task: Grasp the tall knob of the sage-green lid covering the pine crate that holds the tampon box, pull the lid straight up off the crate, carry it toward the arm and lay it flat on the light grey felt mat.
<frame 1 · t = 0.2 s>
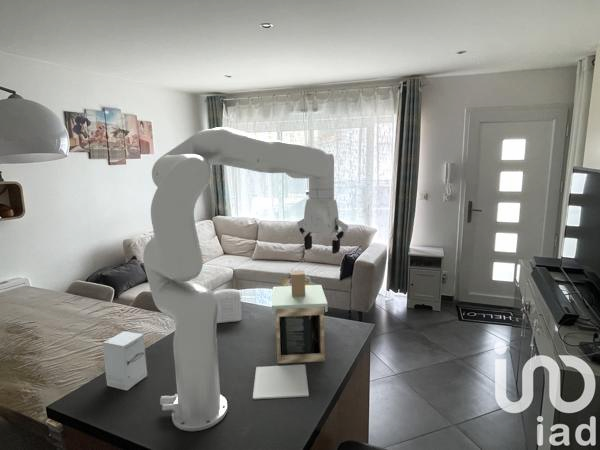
hand: (321, 250, 110), 31 cm above the kitchen island, tool pointing down, fingers open, 9 cm apart
milk carton: (300, 325, 130), on the kitchen island
tampon box: (299, 349, 114), resting in crate
supplement box: (127, 381, 98), on the kitchen island
crate: (299, 348, 113), on the kitchen island
mat: (280, 381, 96), on the kitchen island
lid: (298, 297, 111), point 17 cm above the kitchen island, touching crate
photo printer: (228, 321, 136), on the kitchen island
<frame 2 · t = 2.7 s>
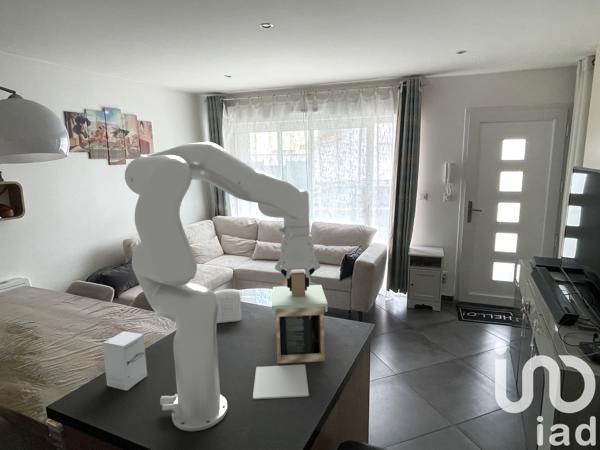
hand: (298, 288, 110), 20 cm above the kitchen island, tool pointing down, fingers closed on lid, 4 cm apart
lid: (298, 297, 111), point 17 cm above the kitchen island, touching gripper
everything else where it was.
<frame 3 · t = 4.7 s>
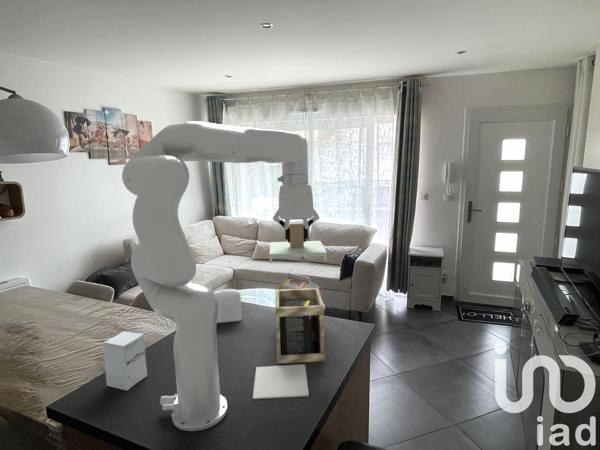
hand: (296, 241, 108), 35 cm above the kitchen island, tool pointing down, fingers closed on lid, 4 cm apart
lid: (296, 250, 108), point 32 cm above the kitchen island, touching gripper
everything else where it was.
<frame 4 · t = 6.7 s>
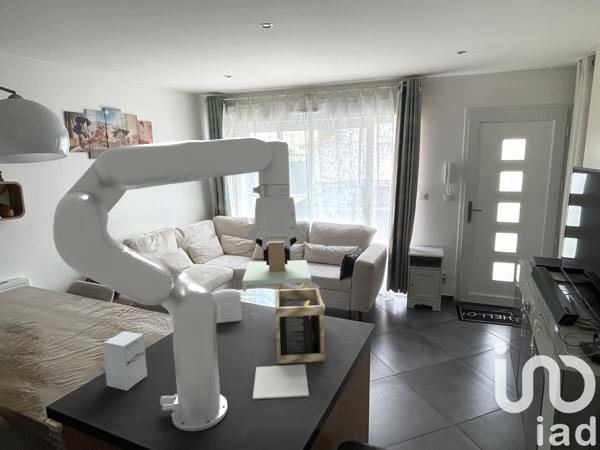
hand: (277, 262, 91), 33 cm above the kitchen island, tool pointing down, fingers closed on lid, 4 cm apart
lid: (277, 273, 92), point 30 cm above the kitchen island, touching gripper
everything else where it was.
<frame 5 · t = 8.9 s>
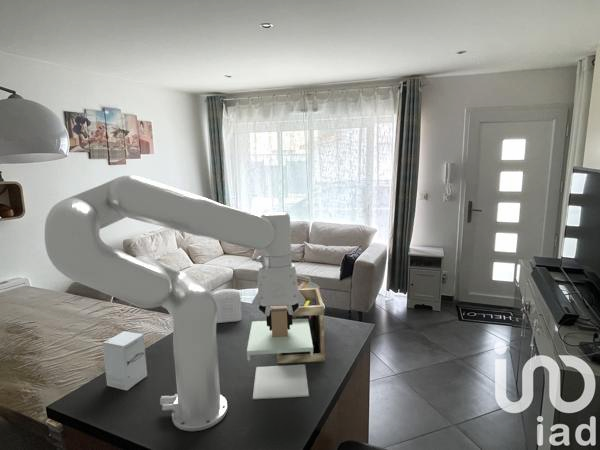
hand: (279, 327, 94), 15 cm above the kitchen island, tool pointing down, fingers closed on lid, 4 cm apart
lid: (280, 336, 95), point 13 cm above the kitchen island, touching gripper
everything else where it was.
when the fingers open (6 cm above the kitchen island, at t = 11.0 s): lid drops 2 cm, point 1 cm above the kitchen island.
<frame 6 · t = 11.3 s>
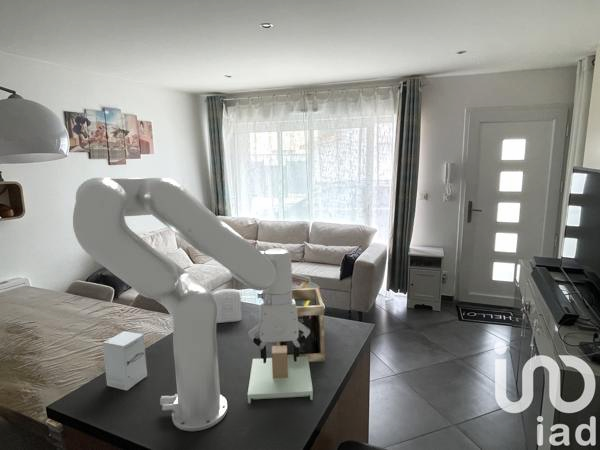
hand: (280, 359, 95), 6 cm above the kitchen island, tool pointing down, fingers open, 7 cm apart
lid: (280, 377, 96), point 1 cm above the kitchen island
everything else where it was.
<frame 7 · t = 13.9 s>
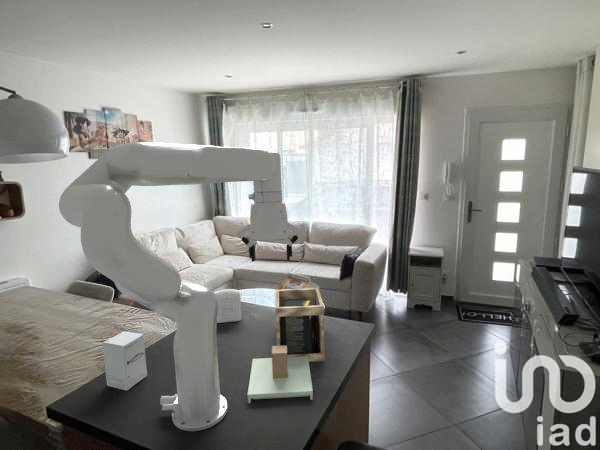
hand: (271, 259, 99), 32 cm above the kitchen island, tool pointing down, fingers open, 9 cm apart
nothing on the kitchen island moved.
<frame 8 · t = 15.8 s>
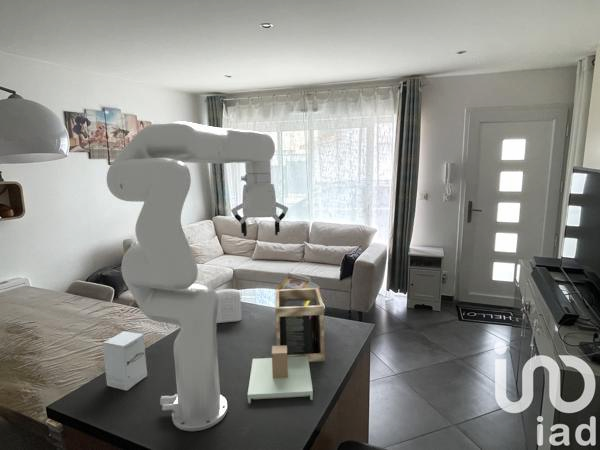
hand: (260, 235, 111), 36 cm above the kitchen island, tool pointing down, fingers open, 9 cm apart
nothing on the kitchen island moved.
at the end: lid inside the target area on the mat (0.1 cm from its centre), point 1.3 cm above the mat's base; lid tilted 0°; lid touching kitchen island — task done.
